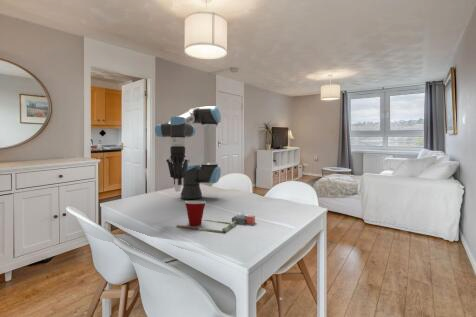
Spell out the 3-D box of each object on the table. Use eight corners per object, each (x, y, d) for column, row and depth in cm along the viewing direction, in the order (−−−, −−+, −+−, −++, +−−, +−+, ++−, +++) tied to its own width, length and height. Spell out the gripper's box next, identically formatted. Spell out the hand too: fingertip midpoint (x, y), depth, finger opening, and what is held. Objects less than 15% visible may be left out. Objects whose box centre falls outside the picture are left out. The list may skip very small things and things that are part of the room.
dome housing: (236, 220, 132) (236, 213, 132) (256, 222, 128) (256, 215, 128) (231, 223, 125) (231, 216, 125) (252, 225, 121) (252, 218, 121)
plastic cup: (209, 222, 126) (209, 199, 126) (200, 228, 116) (200, 203, 116) (191, 221, 130) (191, 198, 130) (180, 226, 120) (180, 202, 120)
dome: (237, 220, 130) (237, 211, 130) (246, 221, 128) (246, 211, 128) (234, 222, 126) (234, 213, 126) (243, 223, 124) (243, 213, 124)
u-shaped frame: (192, 220, 132) (192, 216, 132) (236, 224, 123) (236, 220, 123) (176, 227, 118) (176, 223, 118) (224, 233, 109) (224, 228, 109)
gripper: (162, 145, 126) (162, 191, 126) (184, 145, 121) (184, 192, 121) (171, 146, 133) (171, 189, 133) (192, 146, 128) (192, 190, 128)
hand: (177, 191), depth 127 cm, fingers closed
